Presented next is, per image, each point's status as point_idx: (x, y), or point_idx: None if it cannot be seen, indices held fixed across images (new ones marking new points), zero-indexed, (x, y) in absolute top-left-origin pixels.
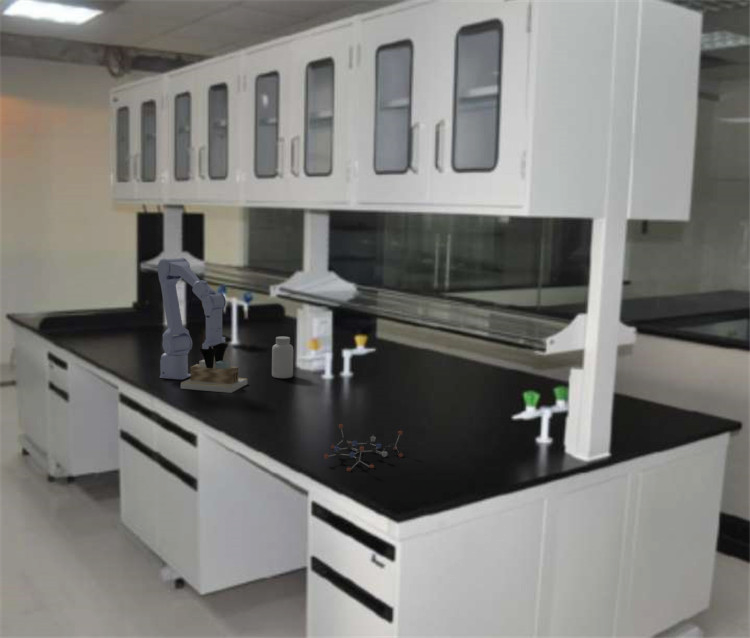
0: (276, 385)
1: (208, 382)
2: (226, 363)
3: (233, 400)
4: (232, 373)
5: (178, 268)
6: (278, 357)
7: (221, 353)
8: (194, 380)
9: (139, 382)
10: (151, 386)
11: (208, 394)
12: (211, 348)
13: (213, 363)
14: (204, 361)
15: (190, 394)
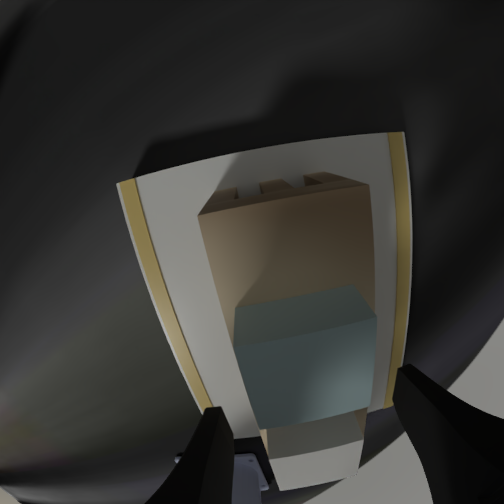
0: (84, 26)
1: None
2: (336, 321)
3: (478, 63)
4: (352, 180)
5: None
6: None
7: (208, 489)
8: None
9: (337, 481)
10: (376, 448)
11: (451, 227)
12: (497, 496)
13: (275, 436)
14: (353, 461)
15: (463, 295)
